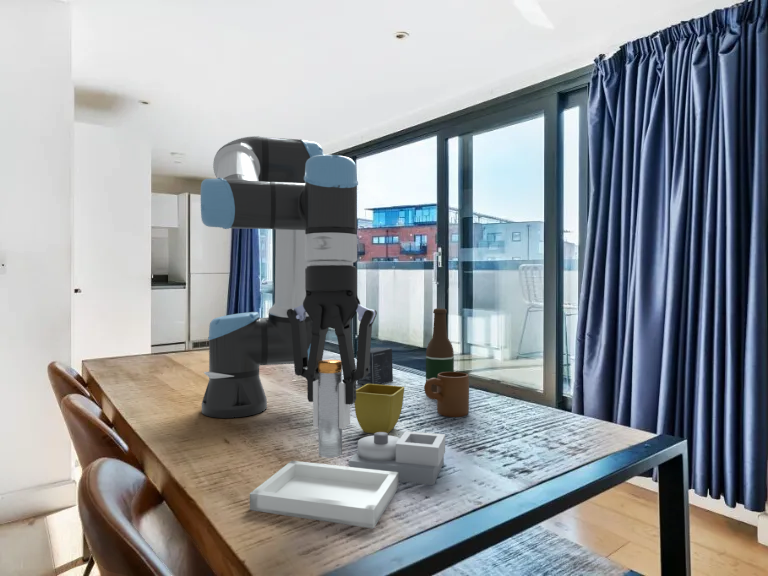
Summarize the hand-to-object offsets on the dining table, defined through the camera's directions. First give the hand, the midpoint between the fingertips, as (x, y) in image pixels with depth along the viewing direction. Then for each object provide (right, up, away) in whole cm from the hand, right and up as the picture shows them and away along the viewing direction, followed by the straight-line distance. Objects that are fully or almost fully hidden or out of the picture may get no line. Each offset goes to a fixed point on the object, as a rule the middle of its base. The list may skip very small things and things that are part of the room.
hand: (331, 424), depth 73 cm
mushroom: (-30, -10, +47) cm, 57 cm away
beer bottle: (+23, -10, +65) cm, 69 cm away
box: (+5, -10, +81) cm, 82 cm away
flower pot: (+7, -11, +33) cm, 35 cm away
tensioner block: (+10, -11, +12) cm, 19 cm away
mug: (+22, -10, +45) cm, 52 cm away
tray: (-1, -11, 0) cm, 11 cm away
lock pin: (0, -4, -1) cm, 4 cm away
